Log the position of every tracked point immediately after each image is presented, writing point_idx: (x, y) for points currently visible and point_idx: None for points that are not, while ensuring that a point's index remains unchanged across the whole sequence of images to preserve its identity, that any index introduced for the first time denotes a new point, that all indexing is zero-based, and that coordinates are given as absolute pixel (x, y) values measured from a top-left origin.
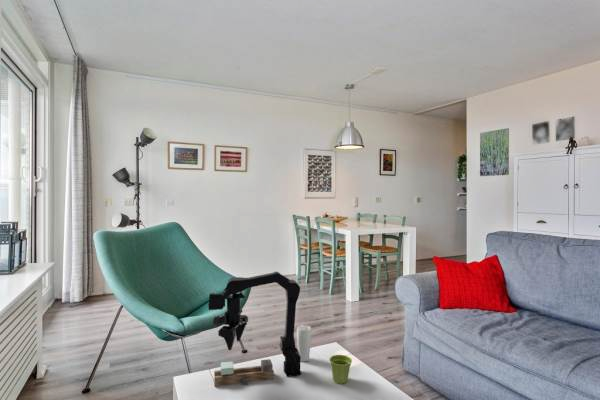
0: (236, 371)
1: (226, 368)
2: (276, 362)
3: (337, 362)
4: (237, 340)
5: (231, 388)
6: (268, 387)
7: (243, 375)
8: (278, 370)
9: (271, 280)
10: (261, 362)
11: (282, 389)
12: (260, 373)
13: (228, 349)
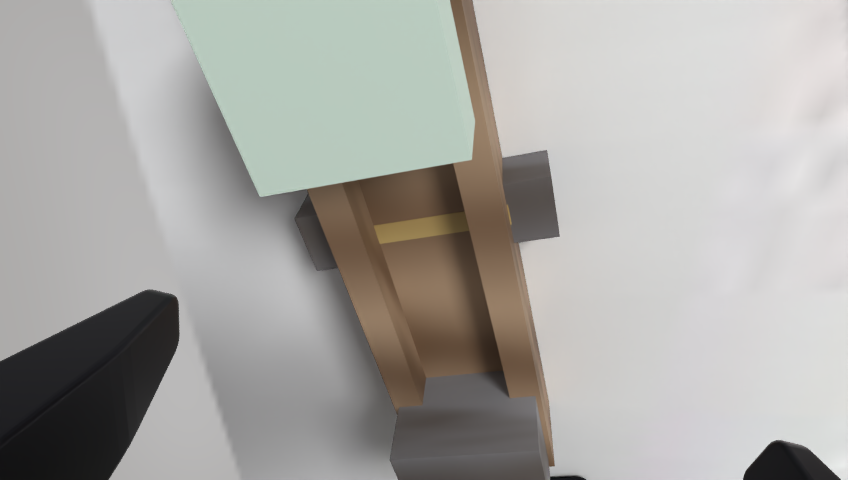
0: None
1: (211, 90)
2: (751, 442)
3: None
4: (780, 462)
5: None
6: (304, 378)
7: (332, 244)
8: (585, 445)
9: None
10: (507, 440)
11: (291, 446)
12: (388, 383)
13: (135, 296)
